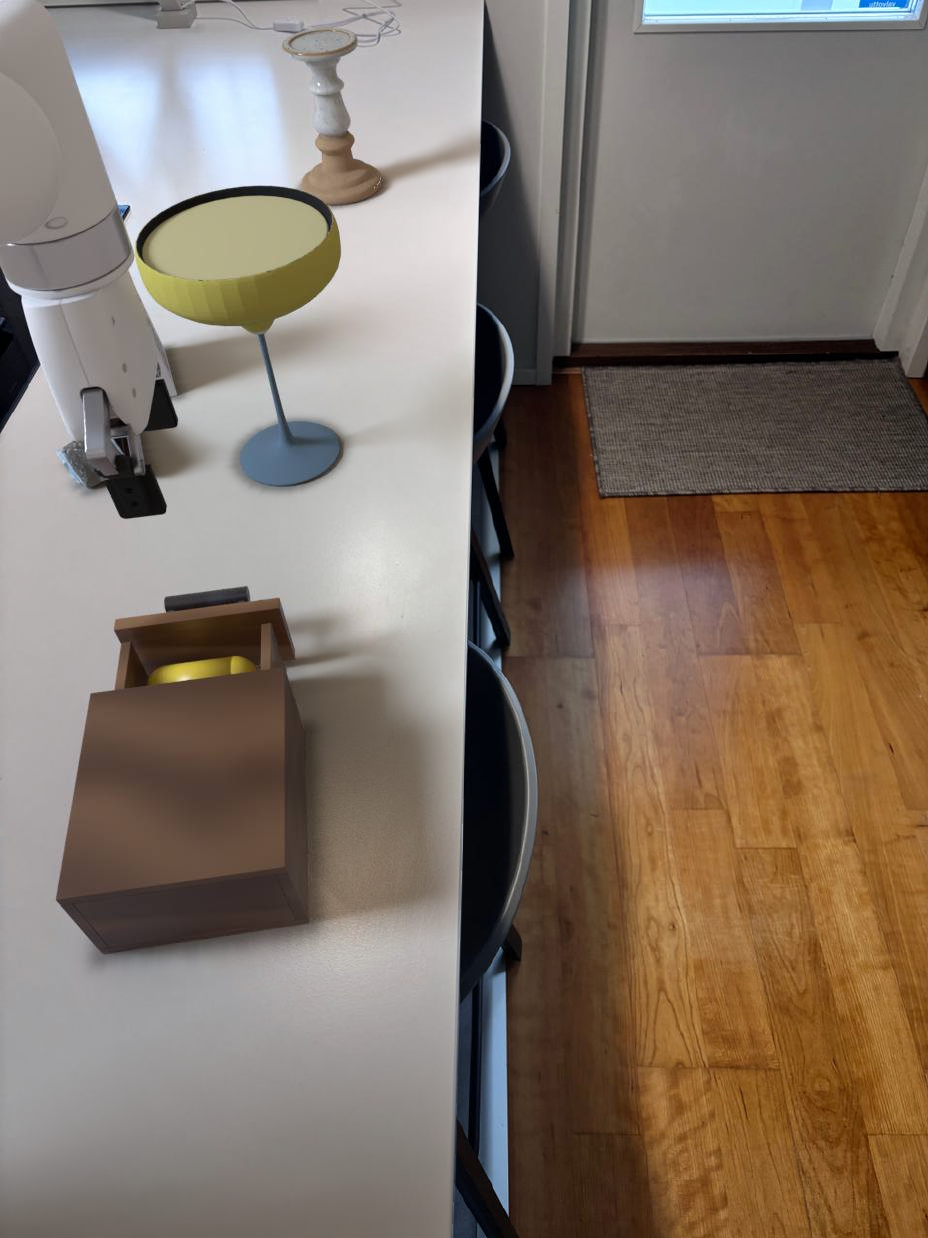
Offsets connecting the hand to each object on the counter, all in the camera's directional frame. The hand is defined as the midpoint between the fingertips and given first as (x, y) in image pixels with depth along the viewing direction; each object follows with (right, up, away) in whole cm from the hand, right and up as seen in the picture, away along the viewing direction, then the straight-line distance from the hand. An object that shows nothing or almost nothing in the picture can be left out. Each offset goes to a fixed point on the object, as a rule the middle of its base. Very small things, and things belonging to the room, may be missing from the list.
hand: (151, 468), depth 69 cm
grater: (-18, +17, +45) cm, 51 cm away
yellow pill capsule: (+1, -17, +10) cm, 20 cm away
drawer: (+2, -19, +10) cm, 21 cm away
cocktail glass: (+4, +7, +34) cm, 35 cm away
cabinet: (+3, -27, +4) cm, 28 cm away
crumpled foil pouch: (-17, +7, +35) cm, 39 cm away
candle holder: (+4, +55, +76) cm, 94 cm away
